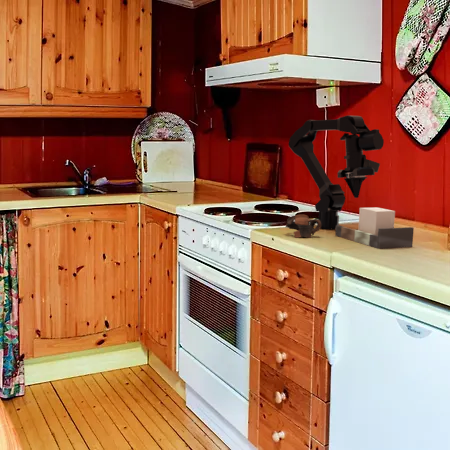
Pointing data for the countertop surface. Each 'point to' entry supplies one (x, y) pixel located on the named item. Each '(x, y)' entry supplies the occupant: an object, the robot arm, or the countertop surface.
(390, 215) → the block
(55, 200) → the countertop surface
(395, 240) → the box
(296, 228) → the pottery mug
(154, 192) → the countertop surface
